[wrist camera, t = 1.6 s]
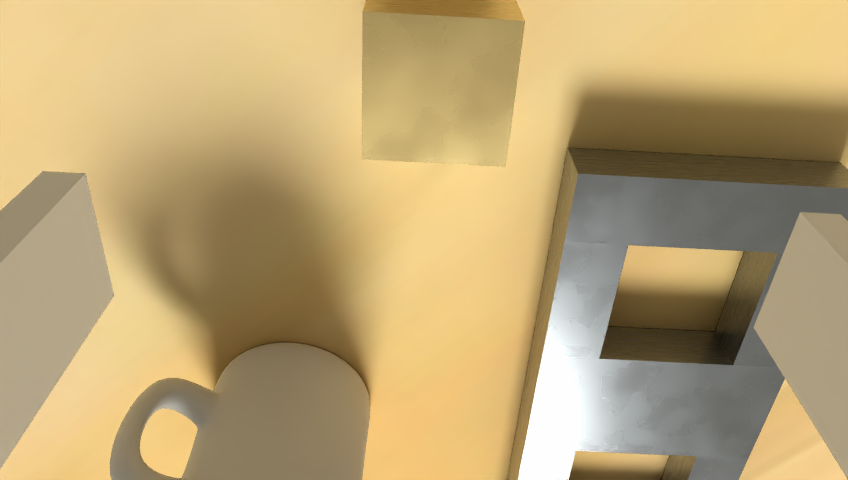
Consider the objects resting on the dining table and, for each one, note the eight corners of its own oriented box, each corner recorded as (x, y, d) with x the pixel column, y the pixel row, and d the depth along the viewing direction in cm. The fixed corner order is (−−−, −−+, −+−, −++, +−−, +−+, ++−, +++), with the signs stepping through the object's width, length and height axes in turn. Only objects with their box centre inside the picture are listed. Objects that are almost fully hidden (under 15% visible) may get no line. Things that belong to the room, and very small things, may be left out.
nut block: (381, -42, 26) (362, 11, 19) (500, -35, 26) (524, 20, 19) (378, 74, 28) (361, 159, 21) (488, 81, 28) (505, 167, 21)
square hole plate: (567, 147, 30) (577, 173, 27) (840, 162, 30) (871, 189, 28) (499, 521, 43) (502, 558, 41) (685, 529, 44) (698, 566, 42)
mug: (401, 389, 37) (391, 581, 28) (316, 470, 41) (282, 663, 32) (207, 279, 34) (121, 458, 24) (132, 379, 37) (32, 568, 28)
